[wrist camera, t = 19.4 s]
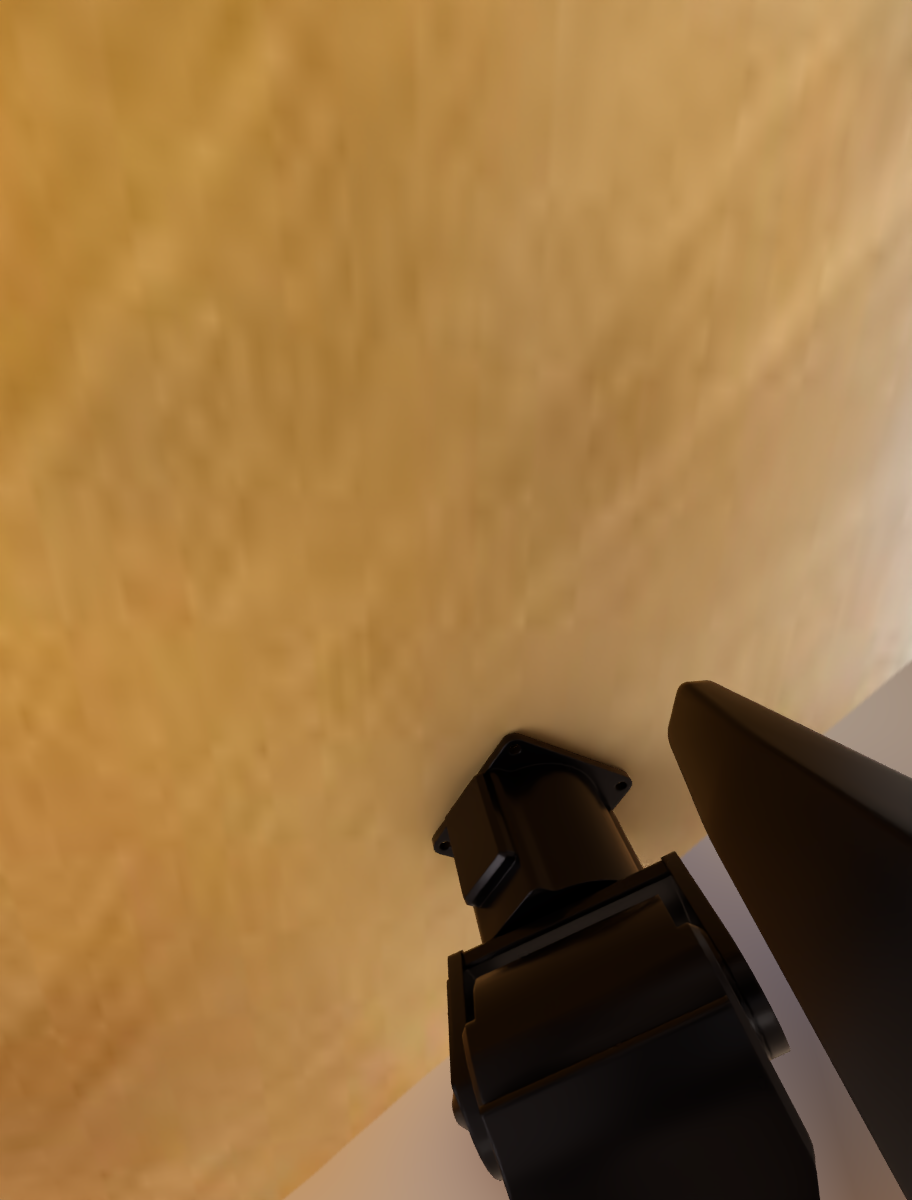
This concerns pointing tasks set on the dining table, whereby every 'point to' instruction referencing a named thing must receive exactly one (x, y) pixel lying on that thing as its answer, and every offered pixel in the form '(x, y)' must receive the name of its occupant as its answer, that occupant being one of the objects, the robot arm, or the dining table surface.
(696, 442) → the dining table surface
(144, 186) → the dining table surface
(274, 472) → the dining table surface
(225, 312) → the dining table surface
